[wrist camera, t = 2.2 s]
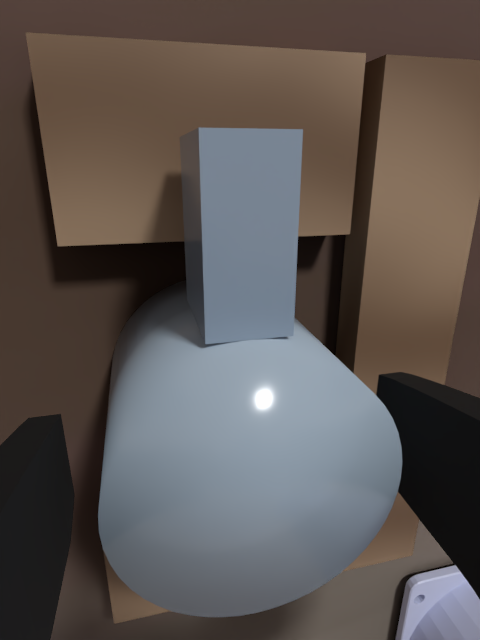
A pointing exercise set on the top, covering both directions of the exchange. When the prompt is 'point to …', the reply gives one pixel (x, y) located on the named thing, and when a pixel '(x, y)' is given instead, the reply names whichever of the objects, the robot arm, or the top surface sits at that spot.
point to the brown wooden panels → (315, 189)
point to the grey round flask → (238, 407)
